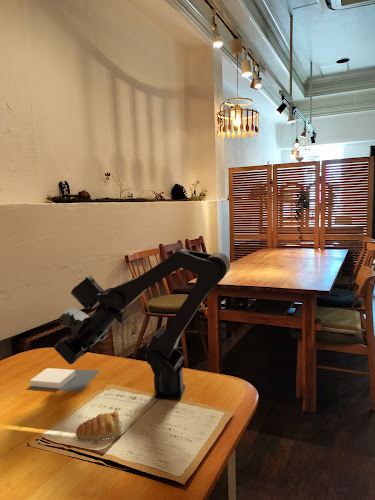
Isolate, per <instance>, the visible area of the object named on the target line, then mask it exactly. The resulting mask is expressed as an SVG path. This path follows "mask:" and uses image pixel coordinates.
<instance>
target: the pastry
mask: <svg viewBox="0 0 375 500" xmlns="http://www.w3.org/2000/svg"><path fill="white" fill-rule="evenodd" d="M122 432H123V431H122V425H121V419H120V414H119V412H118V411H117V410H114V411H113V412H105V413H99V414H97V415H96V416H95V417H92V418H90V419H87V420H86V421H84V422H82V423H80V424H79V425H78V427H77V428H76V431H75V435H76V438H77V439H78V440H80V441H81V440H83V442H86V441H85V440H90V441H89V442H99V441H98V440H100V441H104V440H103V439H106V438H107V439H106V440H109V439H108V438H112V437H116V438H119V437H120V436H121V435H122ZM120 434H121V435H120ZM119 435H120V436H119ZM112 439H113V438H112ZM91 440H93V441H91Z"/></svg>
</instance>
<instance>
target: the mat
mask: <svg viewBox="0 0 375 500" xmlns="http://www.w3.org/2000/svg"><path fill="white" fill-rule="evenodd" d="M67 369H68V370H72V369H69V368H67ZM74 370H75V374H76V376H74V377H73V378H72V379H71V380H70V381H69V382H67V383H66V384H65V385H64V386H63V387H62V388H60V389H59V388H47V387H36V386H31V385H30V386H29V388H28V390H34V391H36V390H37V391H38V390H39V391H58V392H74V393H75V392H76V393H77V392H78V393H82V391H84V389H85V388H86V387H87V385H89V384H90V382H91V381H92V380H93V379H94V378H95V377H96V376H97V375H98V373H99V372H100V370H97V369H96V370H95V369H94V370H93V369H92V370H91V369H74Z"/></svg>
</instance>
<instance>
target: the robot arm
mask: <svg viewBox="0 0 375 500" xmlns="http://www.w3.org/2000/svg"><path fill="white" fill-rule="evenodd" d="M179 269H184V270H186V271H188V272H191V273H192V274H197V276H196V280H195V284H194V285H193V287H192V289H191V291H190V292H189V294H188V295H187V296H186V298H185V299H184V301H183V303H182V304H181V306H179V307H180V308H179V309H178V311H177V312H176V314H175V315H174V317H173V319H172V320H171V321H170V323H169V325H168V326H167V327H166V329H164V328H162V327H159V329H158V330H157V331H156V332H155V333H154V334H153V336H152V337H151V340H150V342H149V343H148V344H147V345H146V347H145V350H146V351H145V355H144V357H145V360H146V362H147V364H148V365H149V366H150V368H151V370H152V374H153V375H154V376H153V386H154V392H155V395H154V398H155V399H162V400H163V399H164V400H181V399H182V397H183V394H184V391H185V389H186V385H185V384H184V375H183V374H184V373H183V366H181V365H182V363H183V362H184V359H185V355H184V354H183V353H182V352H181V351H180V350H179V349H178V345H179V342H180V338H181V336H182V334H183V333H184V332H185V331H184V330H185V329H186V328H187V326H188V324H189V323H190V322H191V320H192V319H193V317H194V315H195V313H197V311H198V309H199V308H200V306H201V305H202V303H203V301H204V300H206V297H207V296H208V294H209V293H210V292H212V290H213V289H214V288H215V287H216V286H217V285H218V284H219V283H220V282H221V281H222V280H223V279H224V278H225V276H226V275H227V274H228V272H229V271H230V269H231V261H230V259H229V257H228V256H227V255H226V254H224V253H222V252H215V253H213V254H211V253H207V252H201V251H194V250H193V251H192V250H189V249H186V248H180V249H179V250H178V249H177V251H175V252H173V254H171V255H170V256H168V257H167V258H165V259H164V260H161V262H159V263H158V264H156V265H155V266H153V267H152V268H150V269H149V270H147V271H145V272H144V273H142V274H141V275H139V276H137V277H135V278H134V277H133V278H131V279H129V280H126V281H123V282H122V283H120V284H118V285H116V286H114V287H109V288H106V289H103V288H102V286H101V285H99V283H97V282H96V280H95V279H94V278H93V276H91V275H89V276H86V277H85V278H84V280H82V281H80V282H79V283H78V284H77V285H76V286H74V287H73V288H72V290H71V291H70V295H71V296H72V297H73V298H74V299H75V300H76V301H77V302H78V303H79V304H80V305H81V306H82V307H83V308H84V309H86V310H89V309H91V310H93V309H95V308H96V309H95V310H94V311H92V313H91V314H90V315H88V314H87V313H86V312H83V311H81V310H80V309H78V308H75V307H70V308H68V309H65V310H64V311H63V313H62V314H61V315H60V316H59V324H60V325H61V326H64V327H65V328H71V329H72V330H73V331H72V333H73V335H74V336H72V335H70V336H64V337H63V338H61V339H60V340H59V341H57V343H56V344H55V345H54V346H53V349H54V350H55V351H56V352H57V353H58V354H59V355H60V357H62V359H64V361H66V363H68V365H73V364H74V363H76V362H77V361H78V360H80V358H81V357H83V356H85V355H86V354H87V353H88V352H89V351H91V350H92V349H93V348H95V344H96V343H97V342H99V341H100V342H102V341H104V340H105V339H106V338H107V337H108V336H109V335H110V328H111V327H112V325H113V324H114V323H115V322H116V321H117V322H118V323H119V324H123V323H124V322H126V321H127V320H128V314H127V310H126V308H127V307H129V306H130V305H132V304H133V303H134V302H135V301H136V300H137V299H139V298H140V297H141V296H142V295H143V294H144V293H145V291H147V290H148V289H149V288H151V287H152V286H154V285H155V284H157V283H159V282H160V281H162V280H163V279H165V278H166V277H168V276H169V275H172V274H173V273H175V272H176V271H177V270H179Z"/></svg>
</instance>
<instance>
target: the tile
mask: <svg viewBox="0 0 375 500" xmlns="http://www.w3.org/2000/svg"><path fill="white" fill-rule="evenodd" d="M68 369H69V368H67V369H66V368H65V369H64V368H50V367H46V368H45V369H44V370H43V371H41V372H40V373H38V374H37V375H35V376H34V377H32V378H31V379H30V380H29V382H30V387H31V386H36V387H47V388H59V389H60V388H62V387H63V386H64V385H65V384H66V383H67V382H69V381H70V380H71V379H72V378H73V377H74V376H76V374H75V370H76V369H71V370H68Z"/></svg>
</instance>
